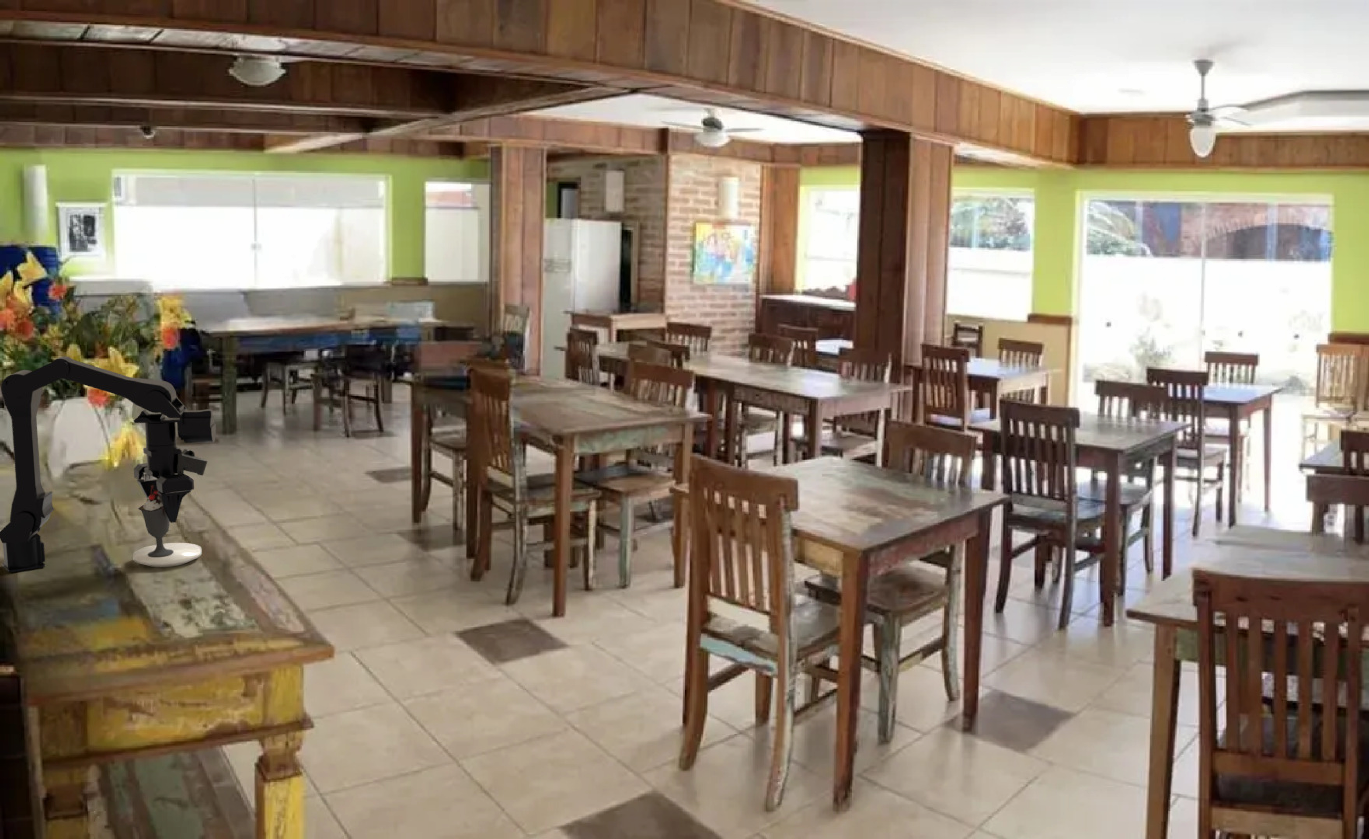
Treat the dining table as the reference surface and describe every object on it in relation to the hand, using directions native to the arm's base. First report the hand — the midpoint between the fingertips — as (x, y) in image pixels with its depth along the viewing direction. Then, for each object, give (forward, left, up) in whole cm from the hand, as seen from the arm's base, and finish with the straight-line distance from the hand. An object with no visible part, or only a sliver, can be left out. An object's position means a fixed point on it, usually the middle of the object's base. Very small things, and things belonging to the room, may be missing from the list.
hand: (165, 517), depth 246 cm
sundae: (-2, -1, -7) cm, 8 cm away
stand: (0, 0, -9) cm, 9 cm away
